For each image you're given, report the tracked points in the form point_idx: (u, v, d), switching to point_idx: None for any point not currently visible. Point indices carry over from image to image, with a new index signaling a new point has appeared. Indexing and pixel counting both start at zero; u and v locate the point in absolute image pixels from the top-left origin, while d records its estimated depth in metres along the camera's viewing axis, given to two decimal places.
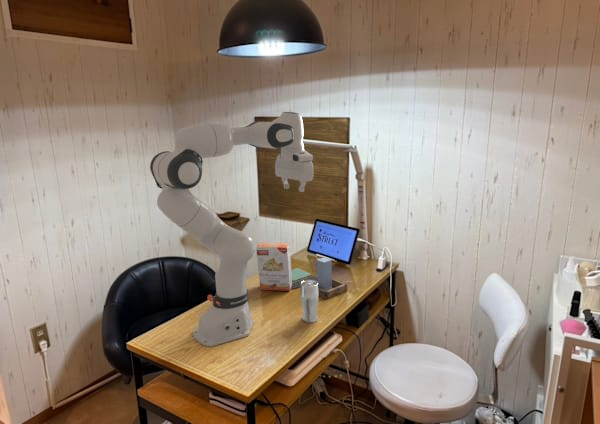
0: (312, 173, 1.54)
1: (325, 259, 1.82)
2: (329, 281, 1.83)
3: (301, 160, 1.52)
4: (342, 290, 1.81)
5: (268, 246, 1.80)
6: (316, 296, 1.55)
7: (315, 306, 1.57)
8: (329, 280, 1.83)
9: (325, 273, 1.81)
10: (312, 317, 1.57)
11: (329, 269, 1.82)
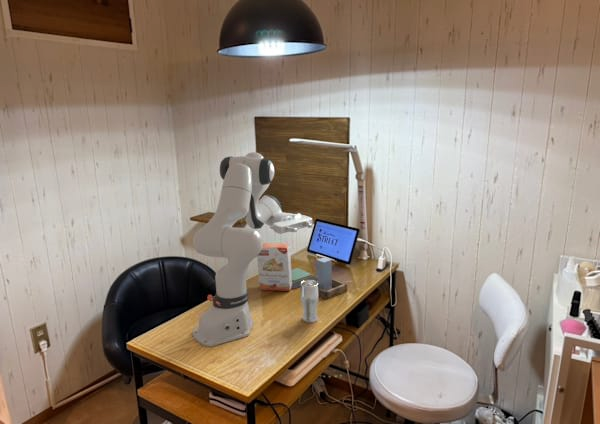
0: None
1: (325, 259, 1.82)
2: (329, 281, 1.83)
3: None
4: (342, 290, 1.81)
5: (268, 246, 1.80)
6: (316, 296, 1.55)
7: (315, 306, 1.57)
8: (329, 280, 1.83)
9: (325, 273, 1.81)
10: (312, 317, 1.57)
11: (329, 269, 1.82)
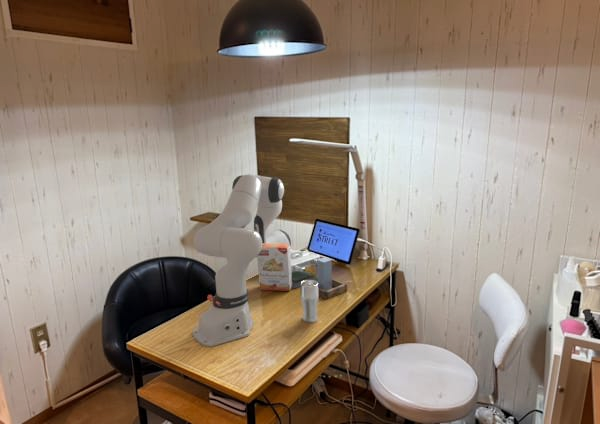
0: None
1: (325, 259, 1.82)
2: (329, 281, 1.83)
3: None
4: (342, 290, 1.81)
5: (268, 246, 1.80)
6: (316, 296, 1.55)
7: (315, 306, 1.57)
8: (329, 280, 1.83)
9: (325, 273, 1.81)
10: (312, 317, 1.57)
11: (329, 269, 1.82)
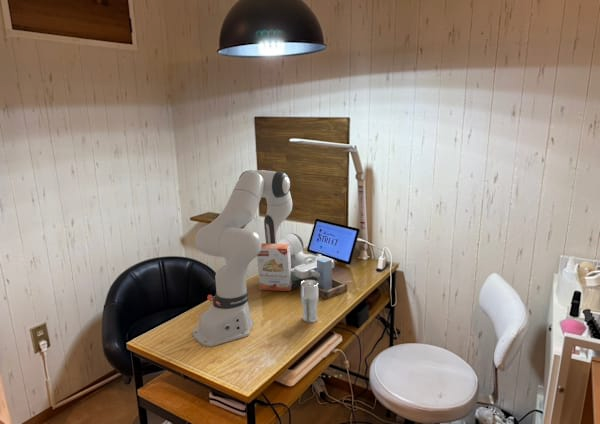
0: None
1: (325, 259, 1.82)
2: (329, 281, 1.83)
3: None
4: (342, 290, 1.81)
5: (268, 247, 1.79)
6: (316, 296, 1.55)
7: (315, 306, 1.57)
8: (329, 280, 1.83)
9: (325, 273, 1.81)
10: (312, 317, 1.57)
11: (329, 269, 1.82)
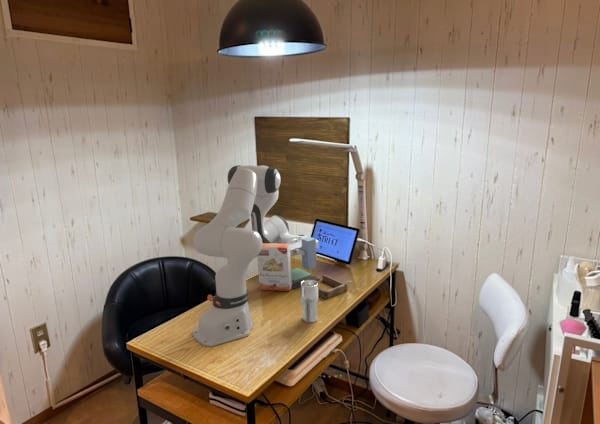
0: None
1: (309, 238, 1.88)
2: (313, 259, 1.90)
3: None
4: (342, 290, 1.81)
5: (268, 246, 1.80)
6: (316, 296, 1.55)
7: (315, 306, 1.57)
8: (313, 259, 1.89)
9: (309, 252, 1.87)
10: (312, 317, 1.57)
11: (313, 248, 1.88)
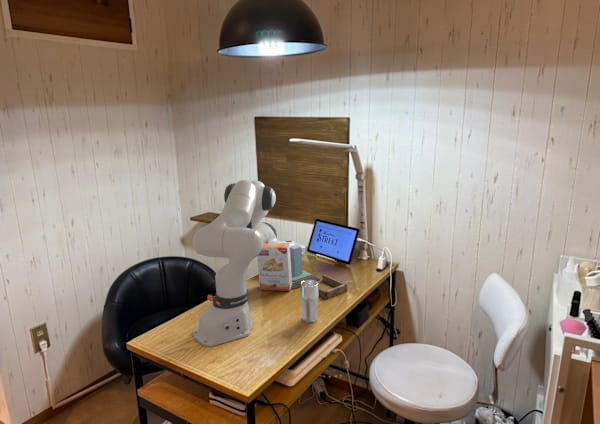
0: None
1: (296, 246, 1.98)
2: (299, 266, 1.99)
3: None
4: (342, 290, 1.81)
5: (268, 246, 1.80)
6: (316, 296, 1.55)
7: (315, 306, 1.57)
8: (299, 266, 1.99)
9: (295, 259, 1.97)
10: (312, 317, 1.57)
11: (300, 256, 1.98)
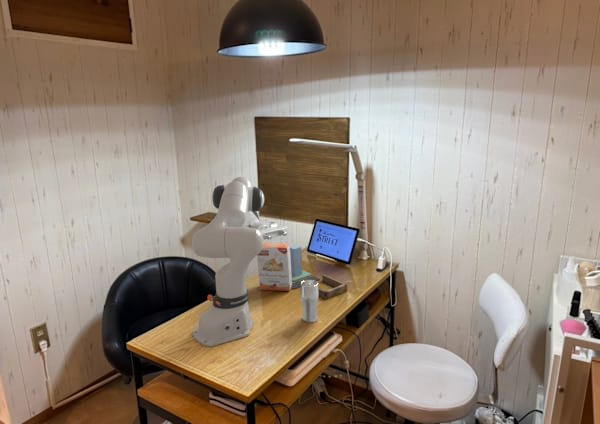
0: None
1: (295, 246, 1.98)
2: (299, 266, 1.99)
3: None
4: (342, 290, 1.81)
5: (268, 246, 1.80)
6: (316, 296, 1.55)
7: (315, 306, 1.57)
8: (299, 266, 1.99)
9: (295, 259, 1.96)
10: (312, 317, 1.57)
11: (299, 256, 1.98)
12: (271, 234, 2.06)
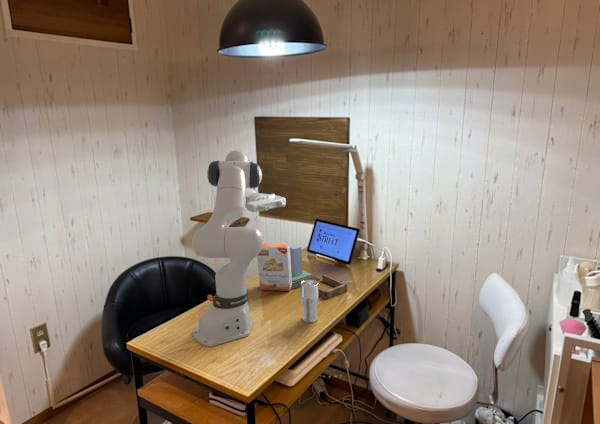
0: None
1: (295, 246, 1.98)
2: (299, 266, 1.99)
3: None
4: (342, 290, 1.81)
5: (268, 246, 1.80)
6: (316, 296, 1.55)
7: (315, 306, 1.57)
8: (299, 266, 1.99)
9: (295, 259, 1.96)
10: (312, 317, 1.57)
11: (299, 256, 1.98)
12: (268, 205, 1.99)
